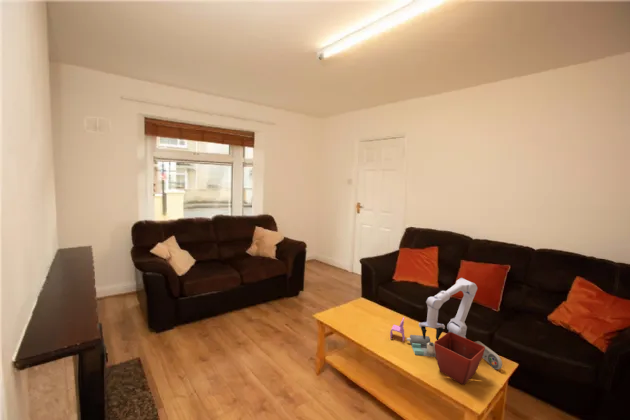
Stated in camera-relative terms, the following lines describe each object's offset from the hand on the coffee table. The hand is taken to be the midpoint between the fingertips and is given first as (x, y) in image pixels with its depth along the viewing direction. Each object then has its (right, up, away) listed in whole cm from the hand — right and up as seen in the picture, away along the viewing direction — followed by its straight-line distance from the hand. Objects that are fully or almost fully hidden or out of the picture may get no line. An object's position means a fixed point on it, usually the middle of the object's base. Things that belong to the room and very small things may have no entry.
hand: (430, 338), depth 168 cm
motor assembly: (-3, -9, +5) cm, 10 cm away
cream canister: (0, -9, 0) cm, 9 cm away
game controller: (+31, -12, -4) cm, 33 cm away
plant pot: (+8, -12, -16) cm, 21 cm away
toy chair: (-15, -7, +15) cm, 23 cm away
